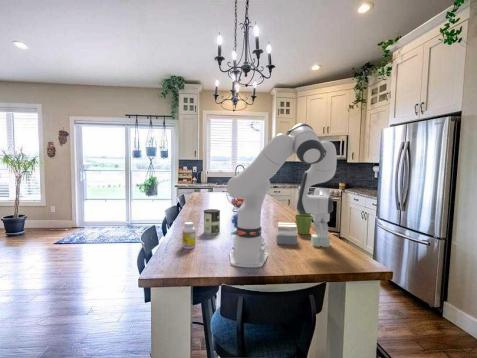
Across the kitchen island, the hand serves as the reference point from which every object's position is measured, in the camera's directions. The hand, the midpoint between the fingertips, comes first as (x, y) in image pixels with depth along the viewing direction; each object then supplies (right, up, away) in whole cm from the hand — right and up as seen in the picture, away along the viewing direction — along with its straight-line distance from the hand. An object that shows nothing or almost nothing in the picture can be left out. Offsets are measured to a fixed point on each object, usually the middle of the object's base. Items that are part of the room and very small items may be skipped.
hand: (320, 241), depth 147 cm
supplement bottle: (-71, -1, -6) cm, 71 cm away
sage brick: (0, -2, 0) cm, 2 cm away
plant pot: (-4, 0, +24) cm, 24 cm away
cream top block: (-17, +4, +6) cm, 19 cm away
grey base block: (-18, -1, +6) cm, 19 cm away
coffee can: (-62, 0, +23) cm, 66 cm away
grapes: (-43, 0, +27) cm, 51 cm away
